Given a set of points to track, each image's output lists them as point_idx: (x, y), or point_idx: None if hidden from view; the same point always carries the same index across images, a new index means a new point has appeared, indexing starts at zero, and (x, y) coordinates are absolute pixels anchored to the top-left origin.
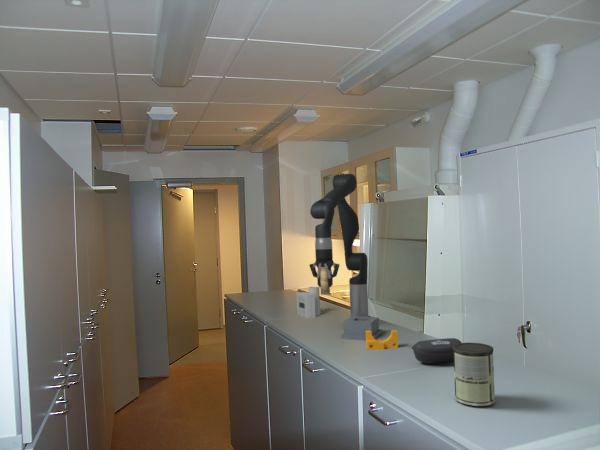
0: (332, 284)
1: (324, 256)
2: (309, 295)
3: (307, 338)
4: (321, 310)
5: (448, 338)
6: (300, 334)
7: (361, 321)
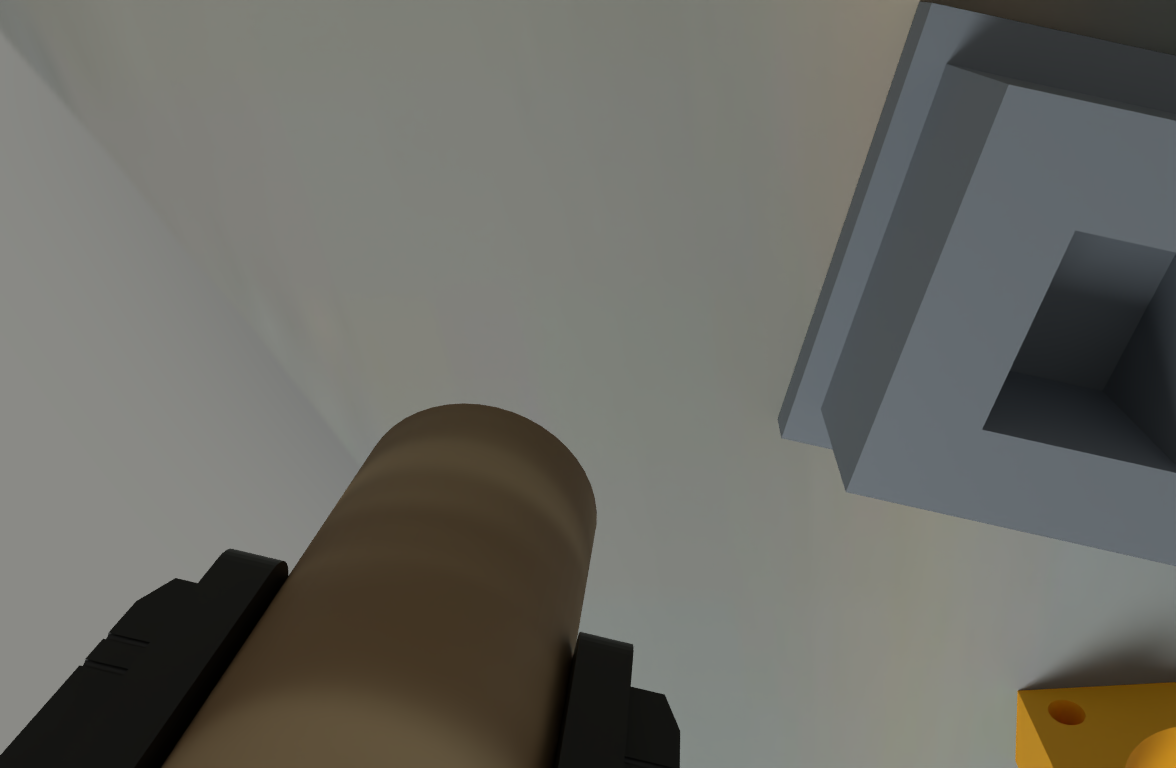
0: (672, 739)
1: None
2: None
3: None
4: None
5: None
6: (280, 241)
7: (1106, 501)
